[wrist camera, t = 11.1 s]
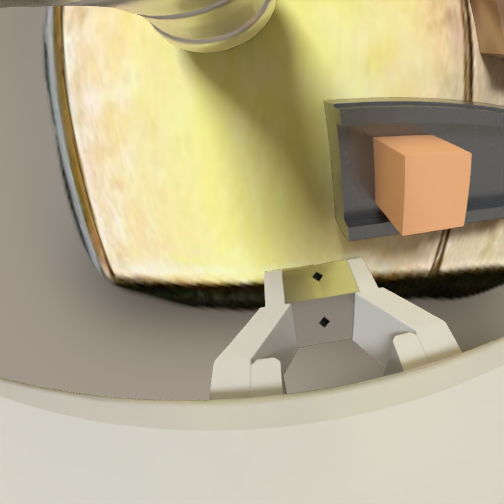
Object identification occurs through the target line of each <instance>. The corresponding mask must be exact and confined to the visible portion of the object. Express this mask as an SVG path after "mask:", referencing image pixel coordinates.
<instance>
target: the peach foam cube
mask: <svg viewBox="0 0 504 504" xmlns="http://www.w3.org/2000/svg"><path fill="white" fill-rule="evenodd" d="M373 147H374V167H375V203H376V204H377V205H378V207H379V208H380V209H381V210H382V211H383V213H384V214H385V215H386V216H387V218H388V219H389V220H390V221H391V223H392V224H393V225H394V226H395V228H396V229H397V230H398V231H399V233H400V234H401V235H402V236H405V235H412V234H418V233H424V232H430V231H437V230H443V229H449V228H455V227H461V226H464V222H465V215H466V209H467V201H468V193H469V184H470V173H471V158H472V153H470V152H468V151H466V150H464V149H462V148H460V147H458V146H456V145H453V144H451V143H449V142H447V141H445V140H443V139H440V138H438V137H436V136H434V135H406V136H385V137H373Z"/></svg>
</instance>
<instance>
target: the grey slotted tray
mask: <svg viewBox="0 0 504 504" xmlns="http://www.w3.org/2000/svg"><path fill="white" fill-rule="evenodd" d="M324 107H325V114H326V121H327V129H328V138H329V146H330V156H331V166H332V177H333V189H334V202H335V218H336V220H337V222H338V224H339V226H340V228H341V230H342V232H343V234H344V236H346V237H347V239H348V241H355V240H361V239H368V238H374V237H381V236H387V235H394V234H400V233H399V231H398V230H397V229H396V228H395V226H394V225H393V224H392V223H391V221H390V220H389V219H388V218H387V216H386V215H385V214H384V213H383V211H382V210H381V209H380V208H379V207H378V205H377V204H376V203H375V167H374V147H373V137H385V136H406V135H434V136H436V137H438V138H440V139H443V140H445V141H447V142H449V143H451V144H453V145H456V146H458V147H460V148H462V149H464V150H466V151H468V152H470V153H472V158H471V173H470V184H469V193H468V201H467V209H466V215H465V222H464V223H471V222H477V221H483V220H490V219H496V218H502V217H504V106H501V105H494V104H487V103H480V102H471V101H461V100H450V99H434V98H402V97H389V98H356V99H339V100H327V101H324Z"/></svg>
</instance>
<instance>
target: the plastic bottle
mask: <svg viewBox="0 0 504 504" xmlns="http://www.w3.org/2000/svg"><path fill="white" fill-rule="evenodd" d="M276 2H277V0H0V8H7V7H46V6H101V7H112V8H116V9H120V10H123V11H127V12H130V13H134V14H138V15H140V16H142V17H144V18H145V19H147V20H148V21H149V22H150V24H151V25H152V26H153V27H154V29H155V30H156V31H157V32H158V33H159V34H160V35H161V36H162V37H163V38H164V39H166V40H167V41H168V42H170V43H171V44H173V45H175V46H177V47H179V48H181V49H184V50H188V51H191V52H201V53H210V52H219V51H223V50H227V49H231V48H233V47H236V46H238V45H241V44H243V43H244V42H246V41H248V40H249V39H251V38H252V37H254V36H255V35H256V34H257V33H258V32H259V31H261V30H262V29H263V27H264V26H265V25H266V24H267V22H268V21H269V20H270V18H271V16H272V14H273V12H274V10H275V6H276Z"/></svg>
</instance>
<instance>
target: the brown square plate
mask: <svg viewBox="0 0 504 504" xmlns="http://www.w3.org/2000/svg"><path fill="white" fill-rule="evenodd" d="M470 3H471V7H472V11H473V16H474V20H475V25H476V30H477V36H478V41H479V48H480V53H483V54H487V55H491V56H494V57H498V58H501V59H504V0H470Z"/></svg>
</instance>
